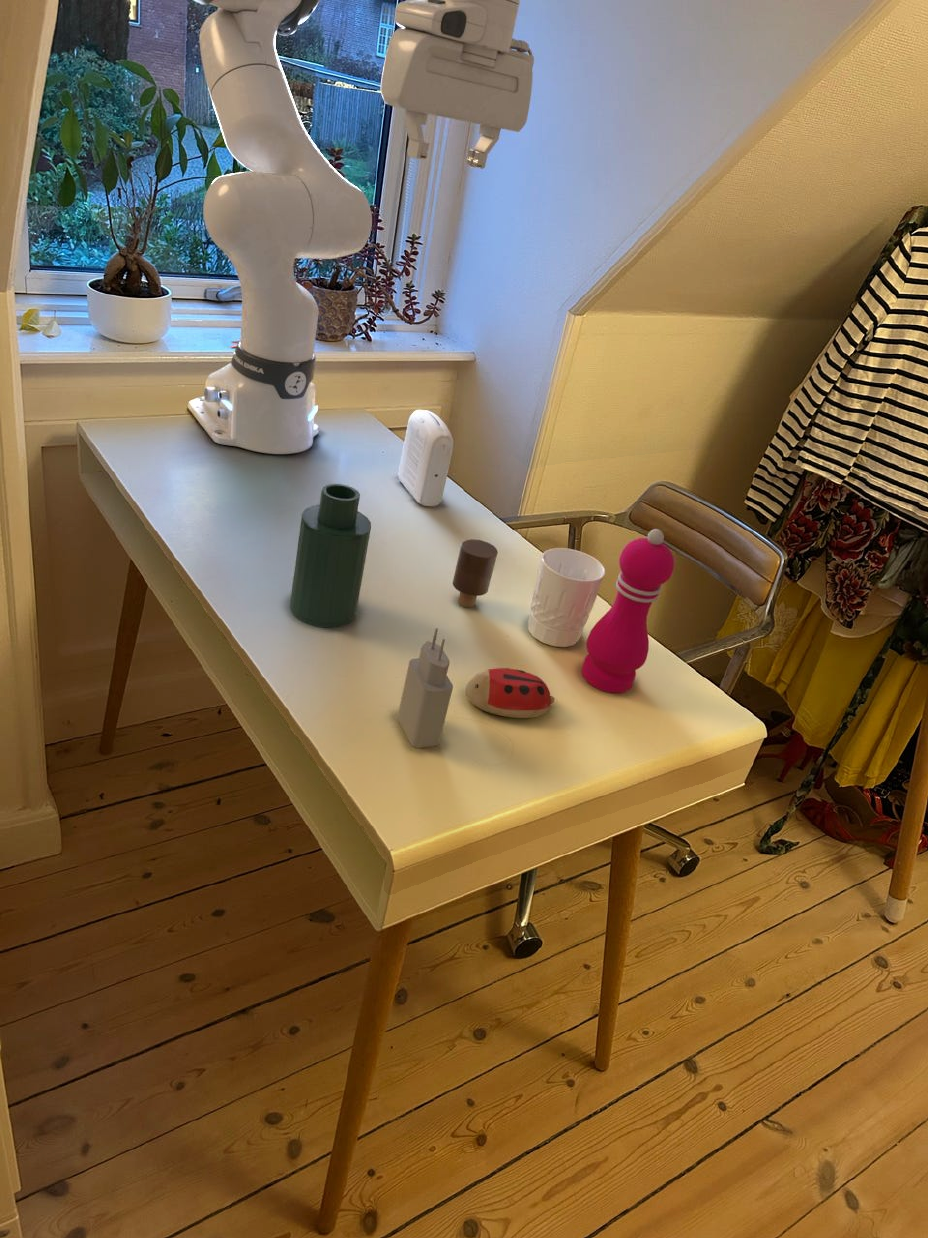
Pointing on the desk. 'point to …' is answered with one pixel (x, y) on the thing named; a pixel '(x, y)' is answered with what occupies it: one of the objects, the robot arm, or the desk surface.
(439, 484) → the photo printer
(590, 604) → the white cup
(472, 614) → the desk surface
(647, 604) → the pepper mill
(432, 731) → the power adapter
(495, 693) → the ladybug figurine
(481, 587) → the stopper
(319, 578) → the bottle
